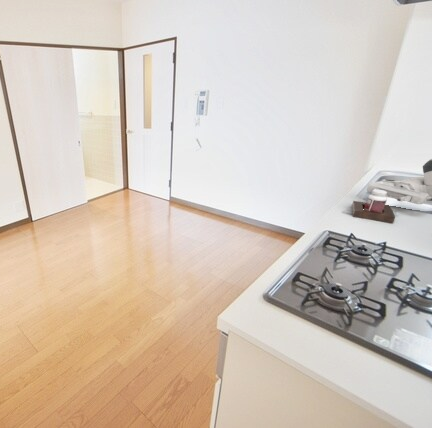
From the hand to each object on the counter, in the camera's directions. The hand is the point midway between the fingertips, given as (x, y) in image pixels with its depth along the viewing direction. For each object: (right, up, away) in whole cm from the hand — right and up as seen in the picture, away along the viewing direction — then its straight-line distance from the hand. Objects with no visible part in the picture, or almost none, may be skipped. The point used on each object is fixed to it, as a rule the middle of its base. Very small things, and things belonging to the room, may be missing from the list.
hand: (386, 196), depth 124 cm
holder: (-6, -8, +1) cm, 10 cm away
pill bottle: (-6, -8, +1) cm, 10 cm away
